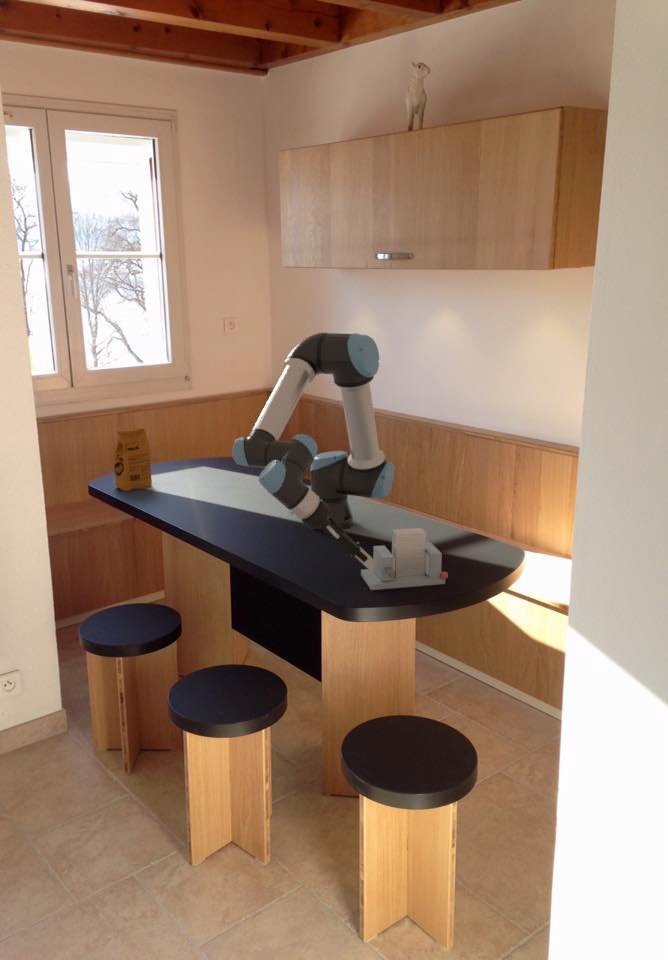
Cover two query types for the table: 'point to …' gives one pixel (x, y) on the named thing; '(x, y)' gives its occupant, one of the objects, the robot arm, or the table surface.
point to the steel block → (409, 552)
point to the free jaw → (384, 563)
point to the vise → (431, 576)
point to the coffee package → (132, 460)
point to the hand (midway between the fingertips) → (373, 566)
